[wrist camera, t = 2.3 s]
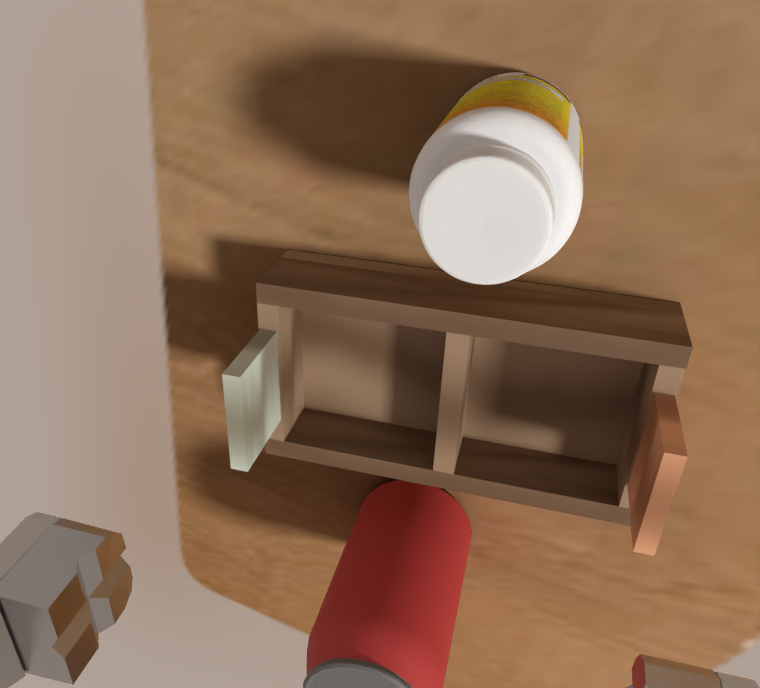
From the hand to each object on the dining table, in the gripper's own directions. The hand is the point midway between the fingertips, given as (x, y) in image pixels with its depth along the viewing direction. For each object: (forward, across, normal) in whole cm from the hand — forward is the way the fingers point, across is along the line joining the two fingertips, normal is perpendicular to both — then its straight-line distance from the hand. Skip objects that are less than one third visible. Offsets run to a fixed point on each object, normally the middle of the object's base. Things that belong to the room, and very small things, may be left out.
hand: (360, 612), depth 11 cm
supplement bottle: (+23, 0, -2) cm, 23 cm away
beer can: (+22, +2, +20) cm, 30 cm away
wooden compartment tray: (+22, +1, +9) cm, 24 cm away
